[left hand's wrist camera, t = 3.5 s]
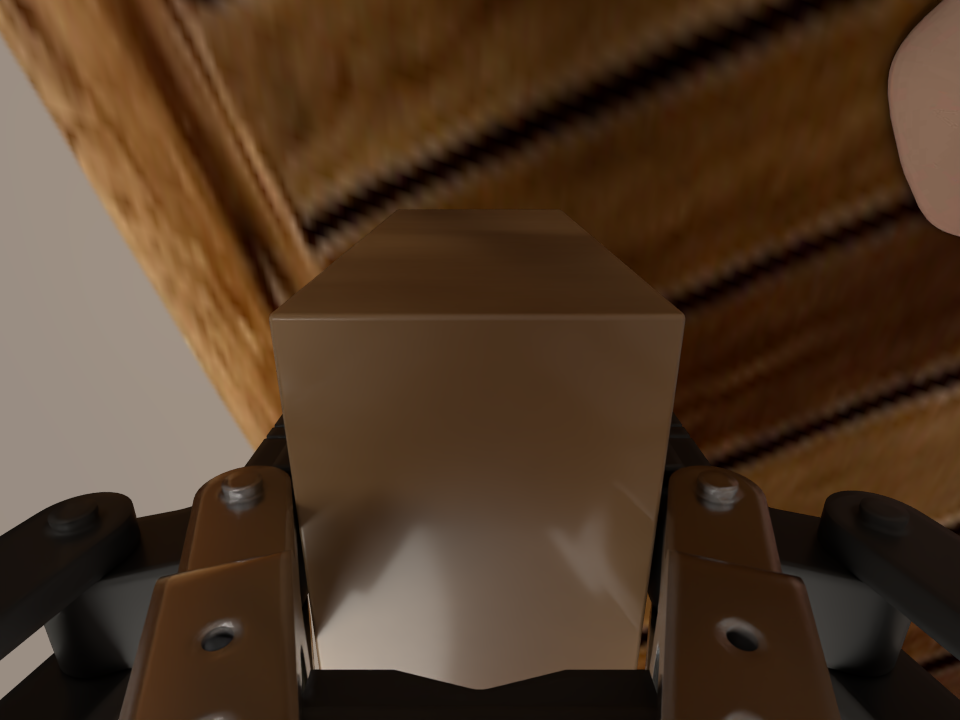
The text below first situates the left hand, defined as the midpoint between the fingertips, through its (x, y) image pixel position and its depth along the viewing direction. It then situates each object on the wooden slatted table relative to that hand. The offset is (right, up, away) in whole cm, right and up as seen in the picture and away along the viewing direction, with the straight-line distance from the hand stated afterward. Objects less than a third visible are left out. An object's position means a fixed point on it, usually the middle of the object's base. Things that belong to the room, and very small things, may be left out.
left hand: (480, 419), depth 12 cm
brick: (0, +2, +5) cm, 6 cm away
